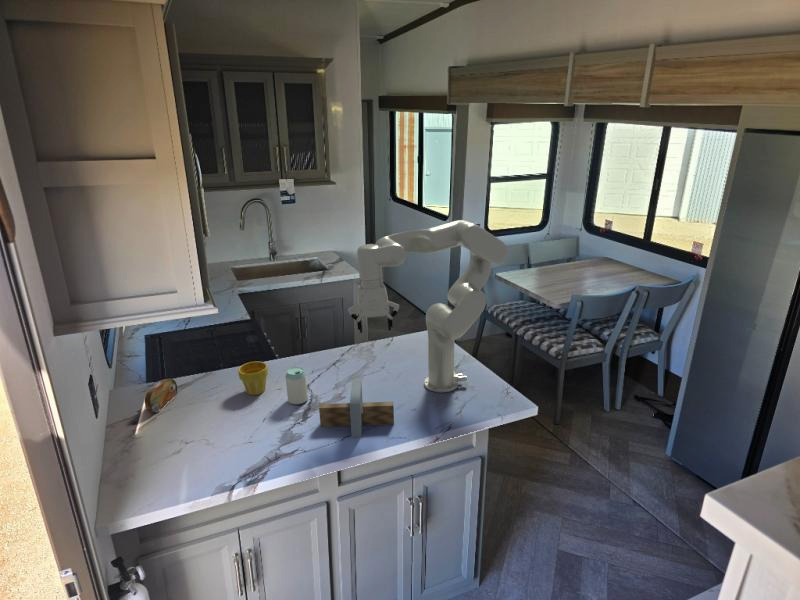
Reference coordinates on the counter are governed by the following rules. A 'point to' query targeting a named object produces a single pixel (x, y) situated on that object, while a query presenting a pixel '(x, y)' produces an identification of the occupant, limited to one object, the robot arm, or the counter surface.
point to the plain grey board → (356, 408)
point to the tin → (160, 395)
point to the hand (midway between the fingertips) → (375, 330)
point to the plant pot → (253, 377)
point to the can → (296, 385)
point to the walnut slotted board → (370, 416)
